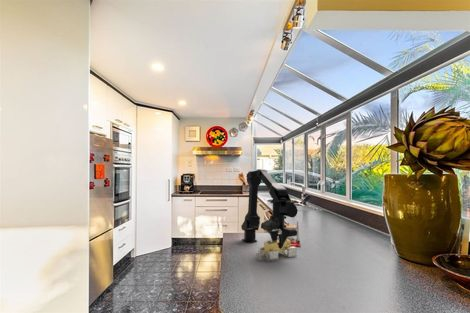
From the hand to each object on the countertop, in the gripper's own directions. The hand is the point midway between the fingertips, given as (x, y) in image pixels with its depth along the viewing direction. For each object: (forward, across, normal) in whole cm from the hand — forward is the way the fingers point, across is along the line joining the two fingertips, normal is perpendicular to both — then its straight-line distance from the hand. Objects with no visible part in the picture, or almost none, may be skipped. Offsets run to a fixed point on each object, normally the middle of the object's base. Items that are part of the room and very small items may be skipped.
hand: (277, 247), depth 111 cm
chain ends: (+4, 0, 0) cm, 4 cm away
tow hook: (+4, -10, +21) cm, 24 cm away
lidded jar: (+4, -20, +29) cm, 36 cm away
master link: (+1, 0, 0) cm, 1 cm away
